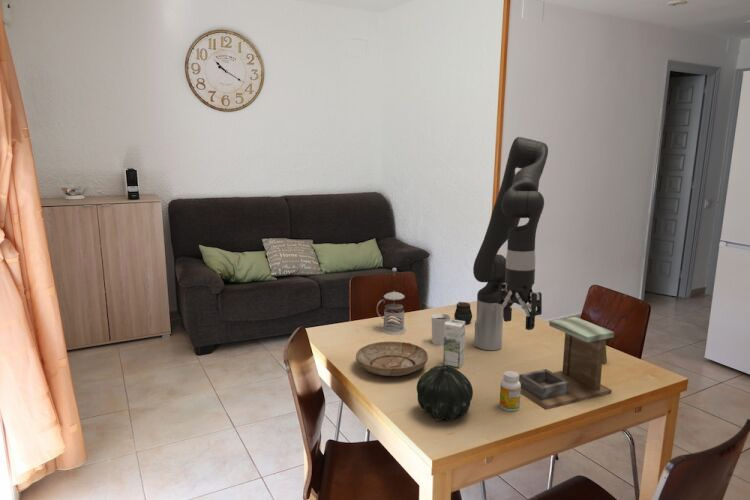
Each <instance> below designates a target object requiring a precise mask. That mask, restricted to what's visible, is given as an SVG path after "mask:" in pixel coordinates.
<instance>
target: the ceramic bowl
mask: <svg viewBox="0 0 750 500" xmlns="http://www.w3.org/2000/svg"><path fill="white" fill-rule="evenodd" d="M358 349H359V350H357V351H356V354H355V360H356V362H357V364H358V365H359V366H360V367H361V368H363V369H364V370H365V371H368V372H370V373H371V374H374V375H378V376H379V375H380V376H384V377H401V376H407V375H408V374H412V373H414V372H417V371H418V370H420V369H421V368H422V367H424V366H425V365H426V363H427V362H428V360H429V354H428V352H427V350H425V348H423V347H421V346H419V345H417V344H413V343H410V342H404V341H402V342H401V341H380V342H374V343H373V342H372V343H371V344H367V345H365V346H363V347H361V348H358Z"/></svg>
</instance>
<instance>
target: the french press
mask: <svg viewBox="0 0 750 500" xmlns="http://www.w3.org/2000/svg"><path fill="white" fill-rule="evenodd" d="M391 271H392V272H393V275H396V274H395V272H397V271H398V270H397V268H396V267H393V268H391ZM383 298H384V299H383ZM383 298H382V299H380V300H379V301H378V302H377V305H376V313H377V315H378V316H379V317H380V318H381V319H383V328H381V332H382V333H384V334H385V335H386V334H387V335H393V336H394V335H401V334H405V333H406V332H407V329H406V327H405V309H404V305H402V304H400V303H388V304H386V305H384V312H383V313H384V316H382V315H381V314H380V312H379V309H378V307H379V305H380V304H381V302H383V304H385V301H386V300H387V301H388V300H389V301H399V300H403V299H404V298H405V295H404V294H403V293H401V292H398V291H391V292H387V293H385V294H384V295H383Z"/></svg>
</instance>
